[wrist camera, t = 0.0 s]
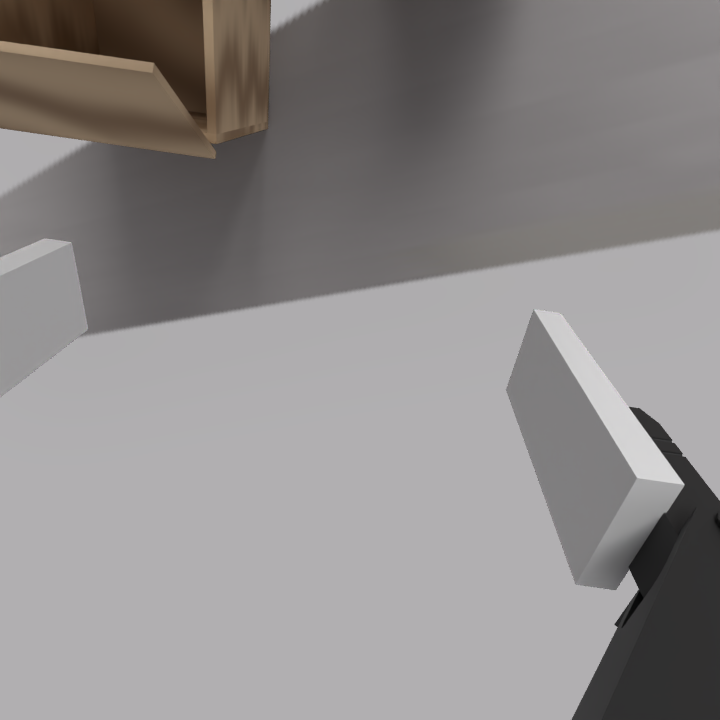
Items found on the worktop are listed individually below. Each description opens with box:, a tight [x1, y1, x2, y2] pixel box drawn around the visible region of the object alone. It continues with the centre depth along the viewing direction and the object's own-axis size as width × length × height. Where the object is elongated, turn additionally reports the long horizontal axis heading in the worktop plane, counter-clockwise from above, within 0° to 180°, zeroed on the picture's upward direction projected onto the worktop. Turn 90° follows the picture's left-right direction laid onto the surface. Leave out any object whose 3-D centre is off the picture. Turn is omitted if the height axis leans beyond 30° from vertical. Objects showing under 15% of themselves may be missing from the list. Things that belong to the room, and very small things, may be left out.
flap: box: [0, 41, 216, 159], centre depth 22 cm, size 8×13×1 cm
